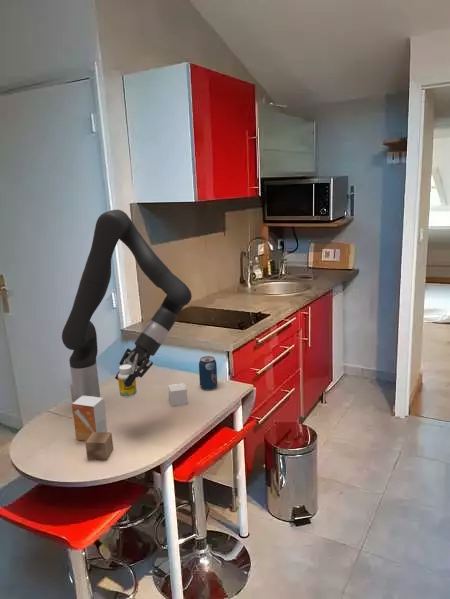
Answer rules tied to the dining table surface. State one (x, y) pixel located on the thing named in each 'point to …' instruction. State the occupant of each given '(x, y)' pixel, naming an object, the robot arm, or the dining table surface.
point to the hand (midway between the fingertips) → (121, 382)
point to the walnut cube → (99, 446)
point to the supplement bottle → (122, 376)
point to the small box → (89, 416)
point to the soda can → (208, 373)
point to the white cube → (177, 394)
